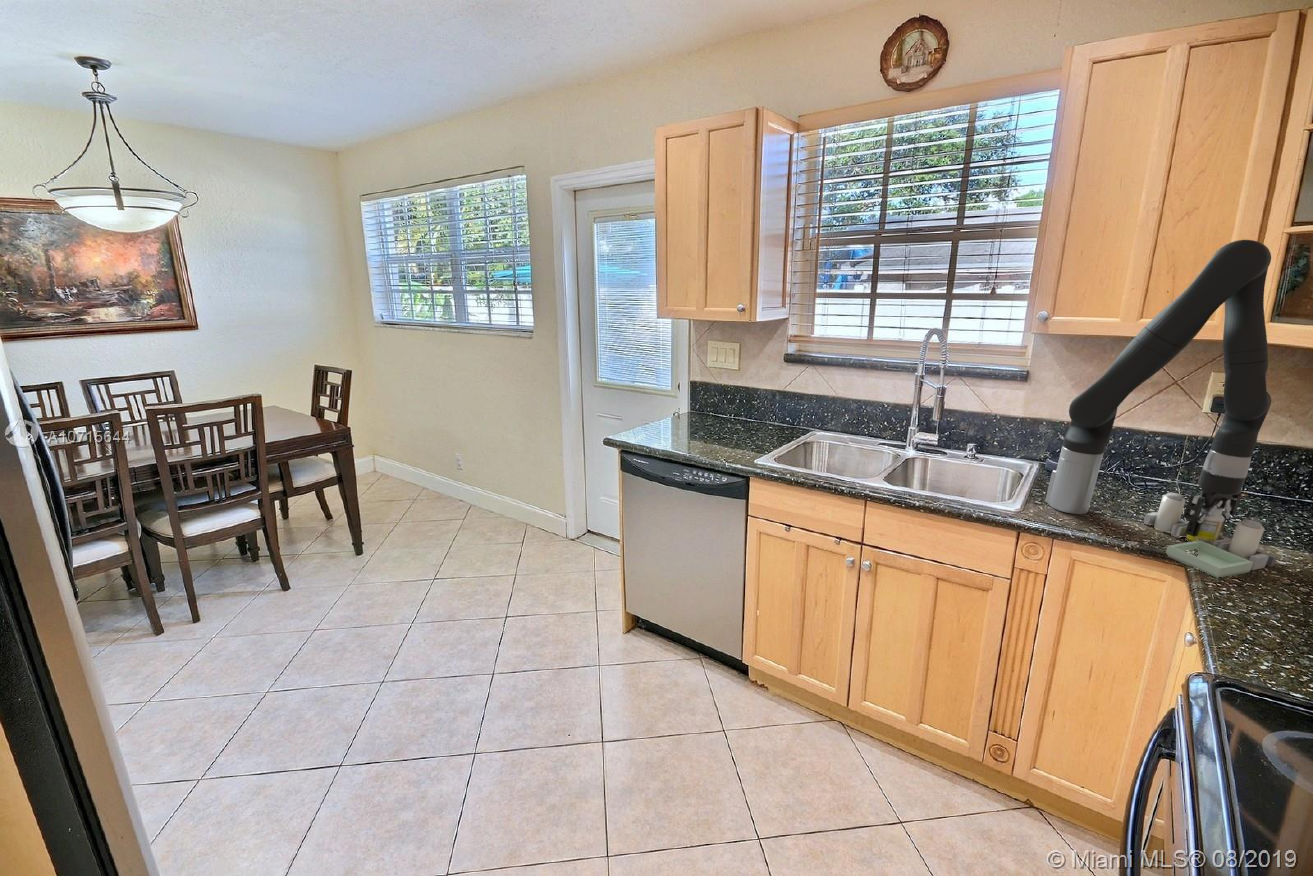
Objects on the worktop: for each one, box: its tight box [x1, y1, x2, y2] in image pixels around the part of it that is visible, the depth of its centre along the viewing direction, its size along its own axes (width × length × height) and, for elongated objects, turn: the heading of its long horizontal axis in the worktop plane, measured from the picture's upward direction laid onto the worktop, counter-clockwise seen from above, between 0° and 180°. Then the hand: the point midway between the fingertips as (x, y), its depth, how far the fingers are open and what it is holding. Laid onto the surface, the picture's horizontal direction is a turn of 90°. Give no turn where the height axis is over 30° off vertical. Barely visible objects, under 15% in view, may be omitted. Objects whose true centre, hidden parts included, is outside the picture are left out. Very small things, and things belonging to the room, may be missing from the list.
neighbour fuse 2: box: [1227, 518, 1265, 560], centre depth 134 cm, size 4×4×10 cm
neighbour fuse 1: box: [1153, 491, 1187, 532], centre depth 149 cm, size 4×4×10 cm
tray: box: [1165, 540, 1253, 579], centre depth 134 cm, size 11×11×2 cm
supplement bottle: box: [1184, 508, 1224, 545], centre depth 142 cm, size 6×6×10 cm
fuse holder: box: [1143, 511, 1279, 571], centre depth 143 cm, size 24×7×3 cm, turn 17°
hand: (1203, 532), depth 142 cm, fingers open, 8 cm apart
